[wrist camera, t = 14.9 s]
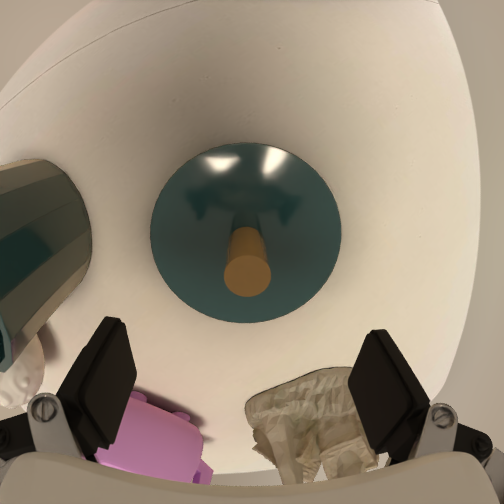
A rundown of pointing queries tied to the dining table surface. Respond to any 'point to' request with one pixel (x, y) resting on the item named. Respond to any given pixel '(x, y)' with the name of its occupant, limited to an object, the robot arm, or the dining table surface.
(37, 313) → the tin
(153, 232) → the lid
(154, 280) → the dining table surface
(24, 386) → the decorative ball
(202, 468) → the teapot
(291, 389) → the ceramic cottage
